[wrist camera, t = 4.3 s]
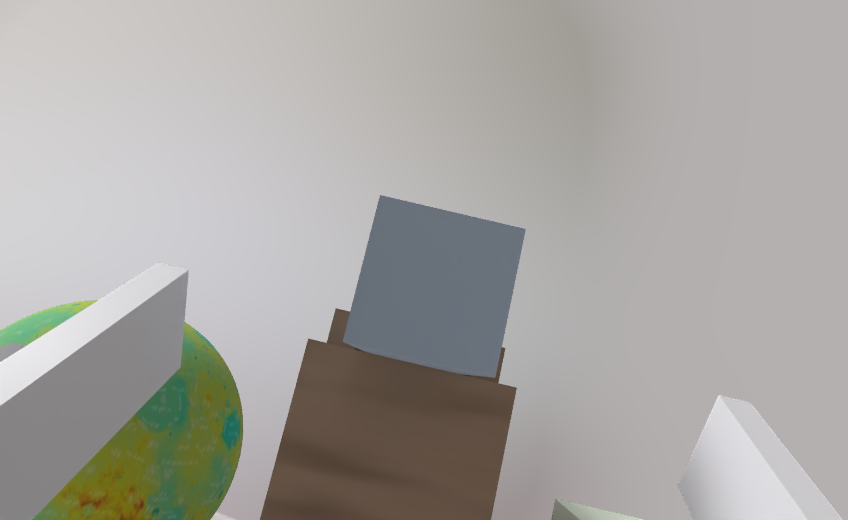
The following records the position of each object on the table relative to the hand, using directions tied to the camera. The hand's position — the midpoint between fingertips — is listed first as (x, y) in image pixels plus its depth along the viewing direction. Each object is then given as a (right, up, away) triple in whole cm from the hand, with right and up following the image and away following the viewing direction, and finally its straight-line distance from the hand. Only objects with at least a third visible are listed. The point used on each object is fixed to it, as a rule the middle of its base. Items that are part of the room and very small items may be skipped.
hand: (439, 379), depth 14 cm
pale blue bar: (-1, -2, +14) cm, 15 cm away
